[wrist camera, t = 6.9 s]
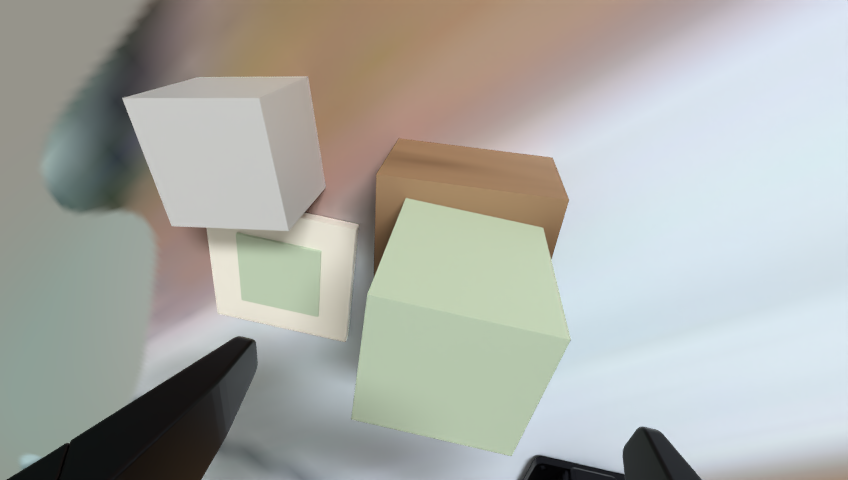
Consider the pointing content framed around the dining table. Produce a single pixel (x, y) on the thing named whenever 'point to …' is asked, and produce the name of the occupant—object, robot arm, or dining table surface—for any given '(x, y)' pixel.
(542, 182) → the walnut block
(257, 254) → the swatch tile
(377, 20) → the dining table surface
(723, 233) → the dining table surface
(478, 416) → the sage block
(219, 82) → the grey block
